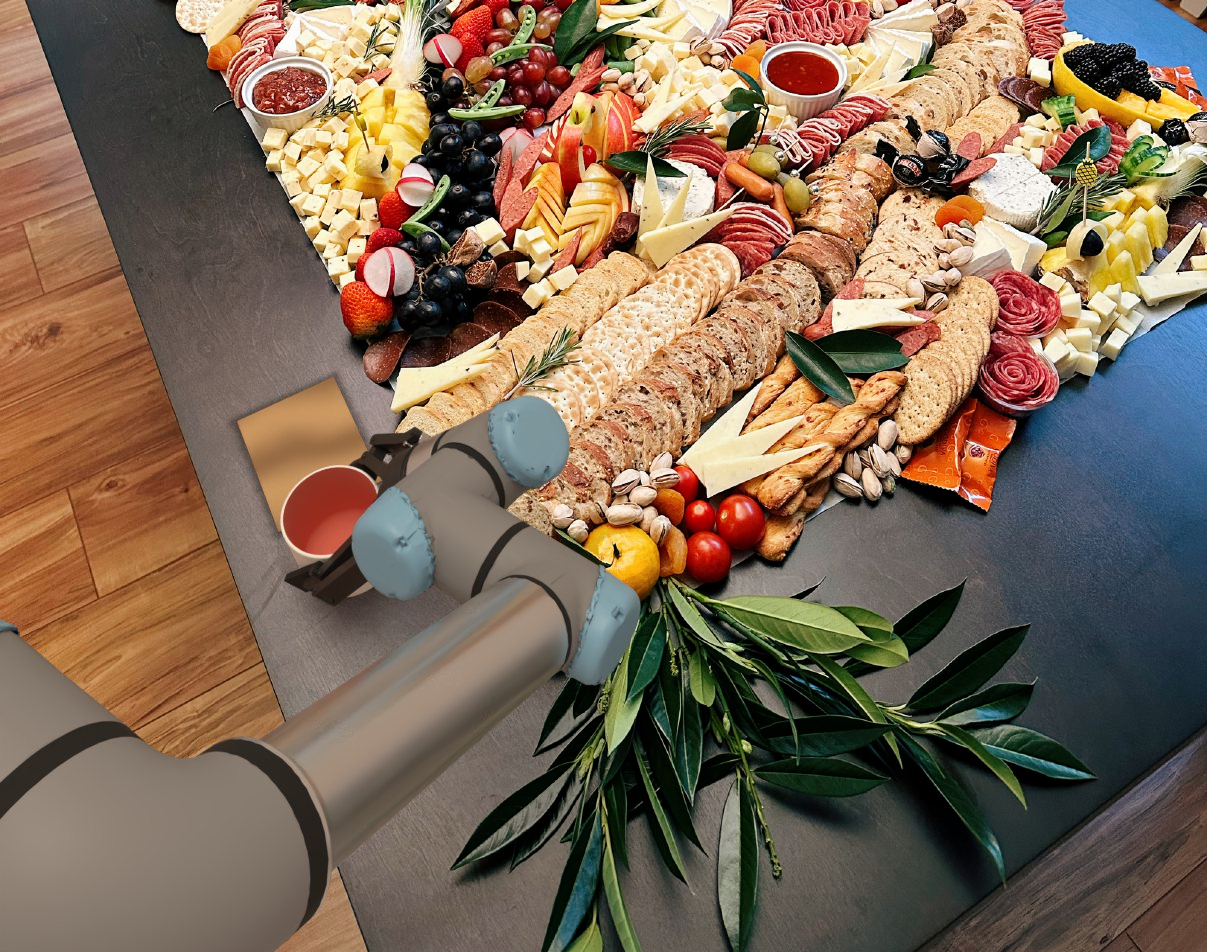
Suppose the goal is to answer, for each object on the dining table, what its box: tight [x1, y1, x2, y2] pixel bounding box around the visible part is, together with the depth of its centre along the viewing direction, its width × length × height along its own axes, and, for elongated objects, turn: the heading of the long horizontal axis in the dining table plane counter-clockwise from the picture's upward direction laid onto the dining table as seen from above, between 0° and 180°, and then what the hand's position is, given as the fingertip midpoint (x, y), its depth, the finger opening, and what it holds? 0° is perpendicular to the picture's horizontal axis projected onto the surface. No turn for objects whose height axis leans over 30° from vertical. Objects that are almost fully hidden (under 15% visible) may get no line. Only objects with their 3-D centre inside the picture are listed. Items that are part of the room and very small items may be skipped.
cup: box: [280, 465, 379, 598], centre depth 118 cm, size 10×10×10 cm
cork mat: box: [236, 376, 383, 533], centre depth 132 cm, size 16×12×1 cm
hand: (315, 533), depth 119 cm, fingers closed on cup, 10 cm apart
